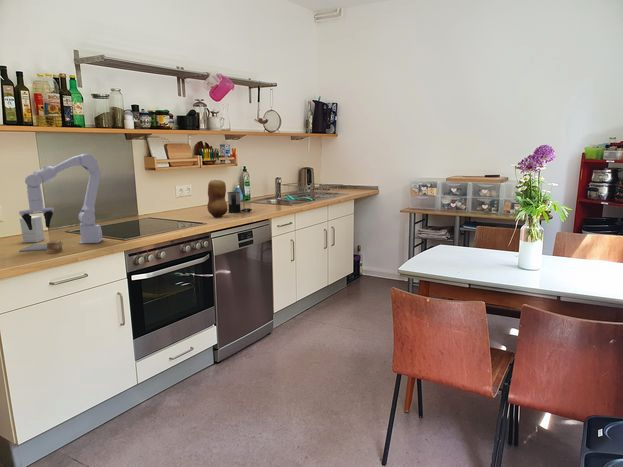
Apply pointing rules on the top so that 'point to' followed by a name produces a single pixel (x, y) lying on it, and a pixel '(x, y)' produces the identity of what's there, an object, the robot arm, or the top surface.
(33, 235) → the supplement box
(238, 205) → the milk frother
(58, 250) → the oak cube
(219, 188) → the butternut squash
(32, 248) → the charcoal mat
